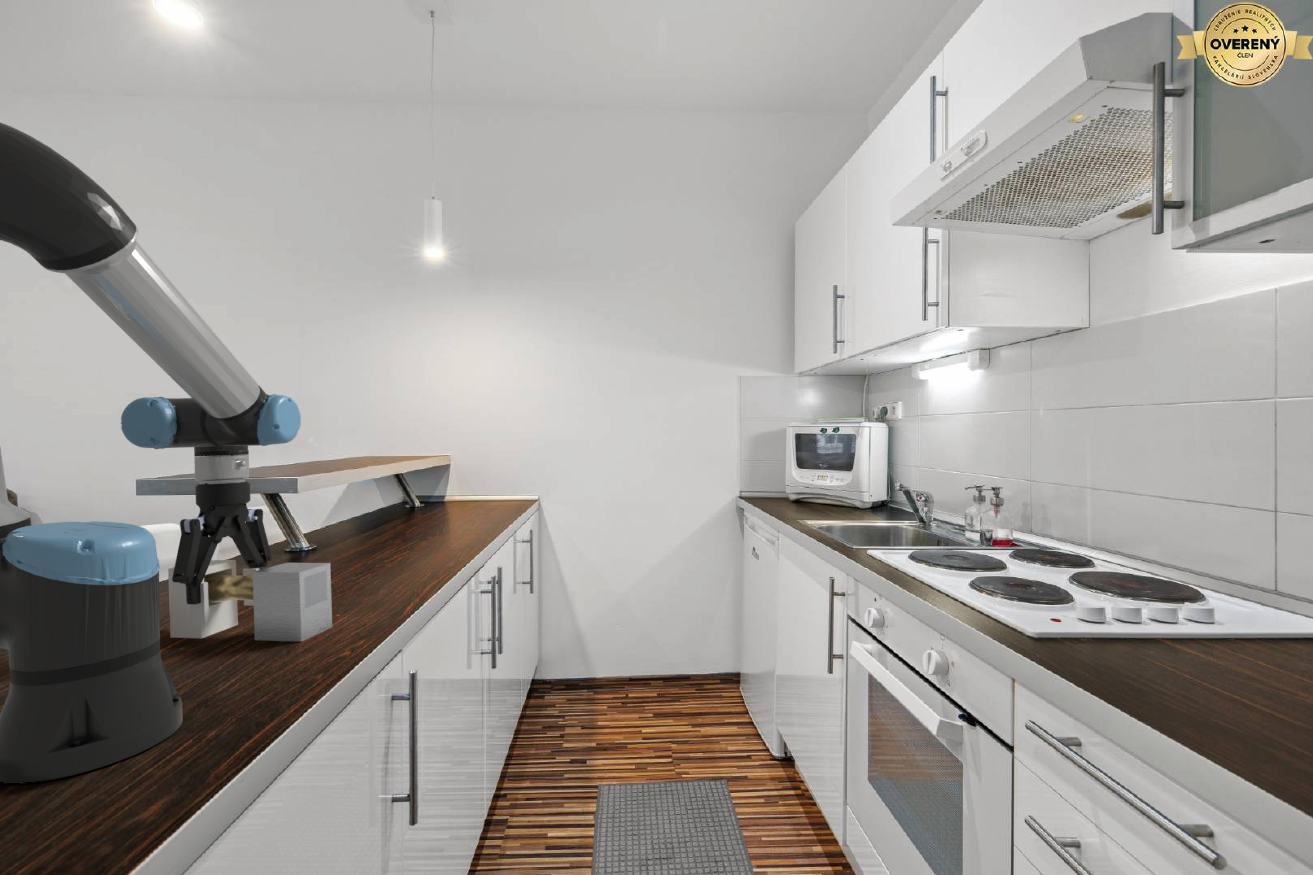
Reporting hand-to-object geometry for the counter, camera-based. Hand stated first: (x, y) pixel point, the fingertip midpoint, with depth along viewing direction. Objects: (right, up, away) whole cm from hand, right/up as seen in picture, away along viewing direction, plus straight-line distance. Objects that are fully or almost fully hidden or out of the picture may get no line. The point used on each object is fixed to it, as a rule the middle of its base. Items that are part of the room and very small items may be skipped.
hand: (227, 613), depth 101 cm
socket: (-4, -3, +1) cm, 5 cm away
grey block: (+13, -3, -2) cm, 13 cm away
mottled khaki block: (+3, +3, 0) cm, 4 cm away
